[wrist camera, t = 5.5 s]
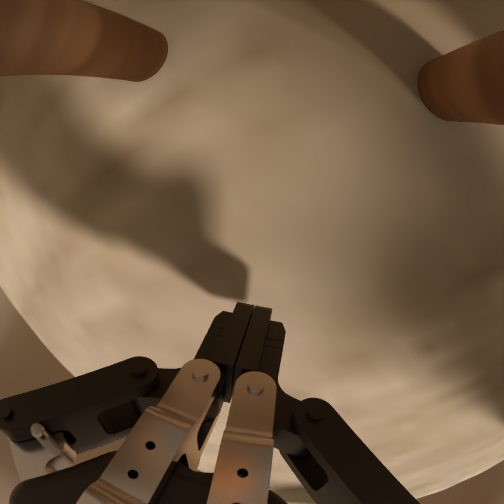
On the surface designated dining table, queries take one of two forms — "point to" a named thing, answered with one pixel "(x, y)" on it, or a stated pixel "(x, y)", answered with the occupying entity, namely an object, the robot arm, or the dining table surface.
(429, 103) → the post inner
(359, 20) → the dining table surface
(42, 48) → the post outer
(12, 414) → the robot arm
